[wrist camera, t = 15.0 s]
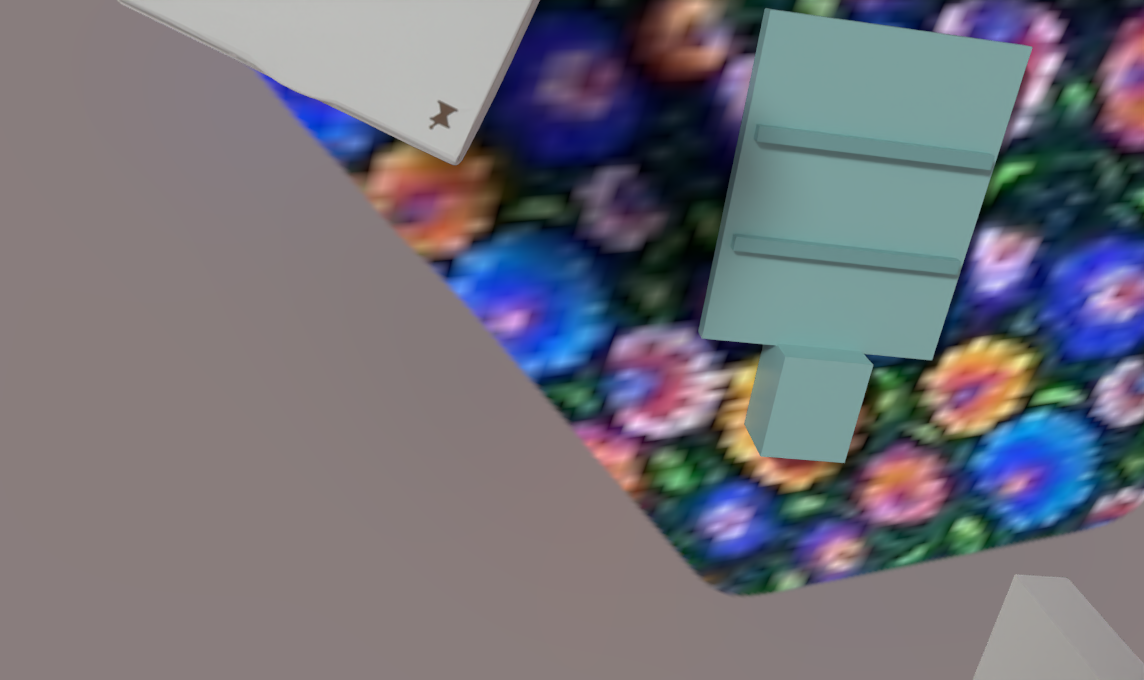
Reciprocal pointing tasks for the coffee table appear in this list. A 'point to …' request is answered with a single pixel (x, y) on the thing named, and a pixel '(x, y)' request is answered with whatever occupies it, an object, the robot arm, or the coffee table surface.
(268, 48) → the supplement box
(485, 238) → the coffee table surface
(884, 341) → the lid
